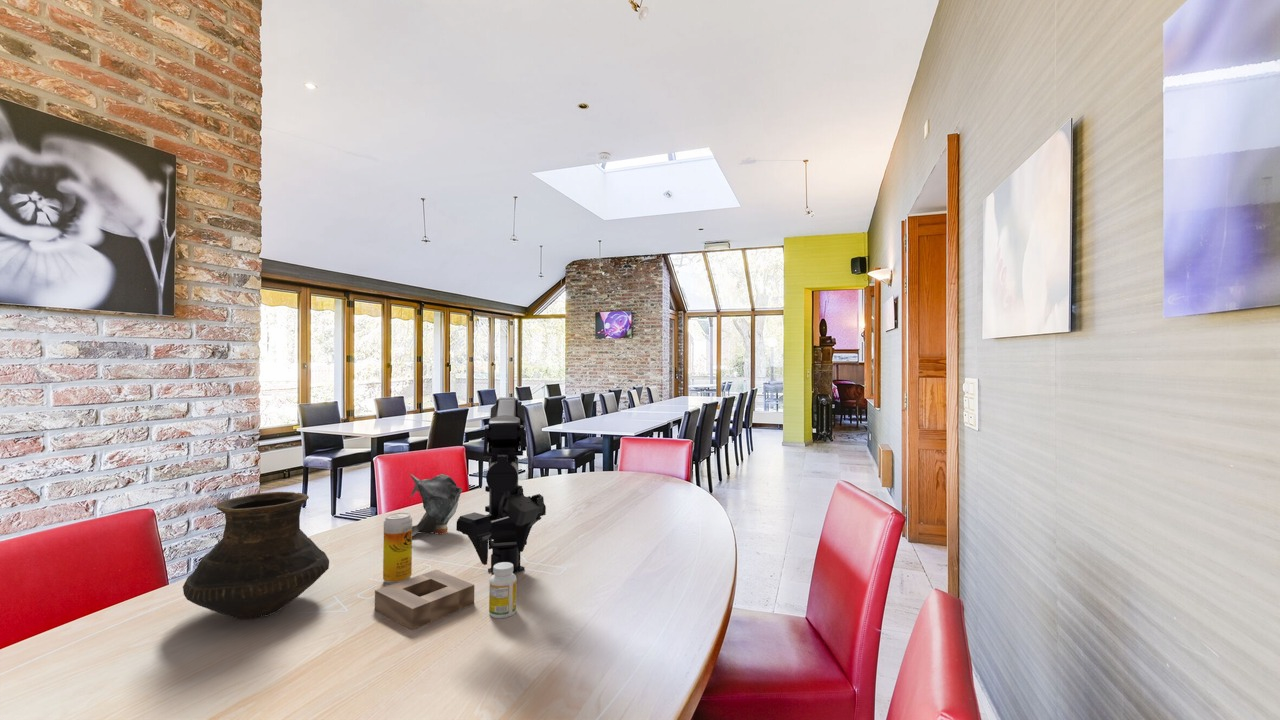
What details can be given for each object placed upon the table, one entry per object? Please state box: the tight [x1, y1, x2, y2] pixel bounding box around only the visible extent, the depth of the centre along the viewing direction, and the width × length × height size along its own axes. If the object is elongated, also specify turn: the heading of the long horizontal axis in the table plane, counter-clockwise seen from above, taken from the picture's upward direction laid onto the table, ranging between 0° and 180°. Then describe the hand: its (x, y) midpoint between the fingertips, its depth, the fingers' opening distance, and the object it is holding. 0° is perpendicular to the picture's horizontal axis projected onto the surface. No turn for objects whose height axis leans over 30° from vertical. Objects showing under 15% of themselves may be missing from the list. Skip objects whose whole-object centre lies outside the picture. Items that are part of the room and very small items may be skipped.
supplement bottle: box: [488, 562, 517, 619], centre depth 108 cm, size 5×5×10 cm
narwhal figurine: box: [409, 473, 463, 537], centre depth 159 cm, size 14×15×18 cm
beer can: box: [382, 512, 413, 585], centre depth 125 cm, size 6×6×15 cm
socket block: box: [374, 569, 475, 631], centre depth 111 cm, size 14×14×4 cm
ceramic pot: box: [182, 491, 330, 620], centre depth 109 cm, size 24×24×22 cm
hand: (503, 557), depth 108 cm, fingers open, 9 cm apart
